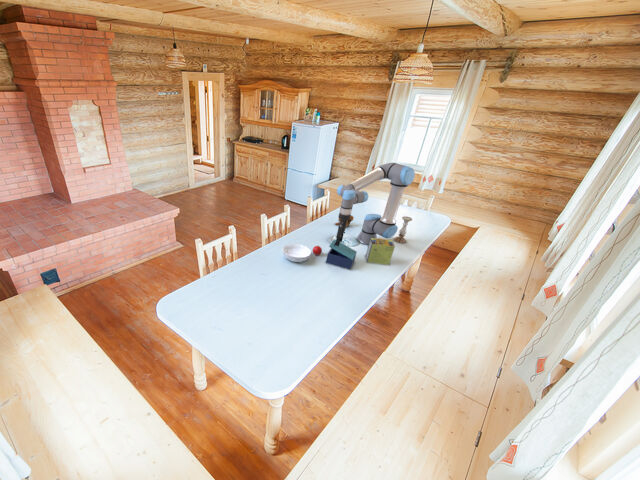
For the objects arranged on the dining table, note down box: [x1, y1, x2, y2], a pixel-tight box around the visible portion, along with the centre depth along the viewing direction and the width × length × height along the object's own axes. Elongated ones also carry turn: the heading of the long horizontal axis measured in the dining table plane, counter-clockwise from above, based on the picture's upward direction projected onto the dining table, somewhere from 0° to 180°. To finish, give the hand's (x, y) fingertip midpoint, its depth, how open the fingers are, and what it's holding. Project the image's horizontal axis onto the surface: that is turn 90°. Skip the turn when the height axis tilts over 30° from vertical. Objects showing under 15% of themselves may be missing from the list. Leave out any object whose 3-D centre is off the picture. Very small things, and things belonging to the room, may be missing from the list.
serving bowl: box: [281, 243, 312, 263], centre depth 233 cm, size 21×21×7 cm
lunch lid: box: [328, 234, 357, 260], centre depth 223 cm, size 18×13×8 cm
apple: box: [311, 245, 323, 256], centre depth 238 cm, size 7×7×8 cm
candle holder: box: [394, 215, 413, 244], centre depth 259 cm, size 9×9×20 cm
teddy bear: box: [335, 214, 355, 228], centre depth 284 cm, size 10×14×13 cm
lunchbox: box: [325, 247, 357, 270], centre depth 229 cm, size 18×13×8 cm
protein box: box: [365, 238, 396, 266], centre depth 231 cm, size 10×15×16 cm
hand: (338, 243), depth 225 cm, fingers closed on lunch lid, 7 cm apart
